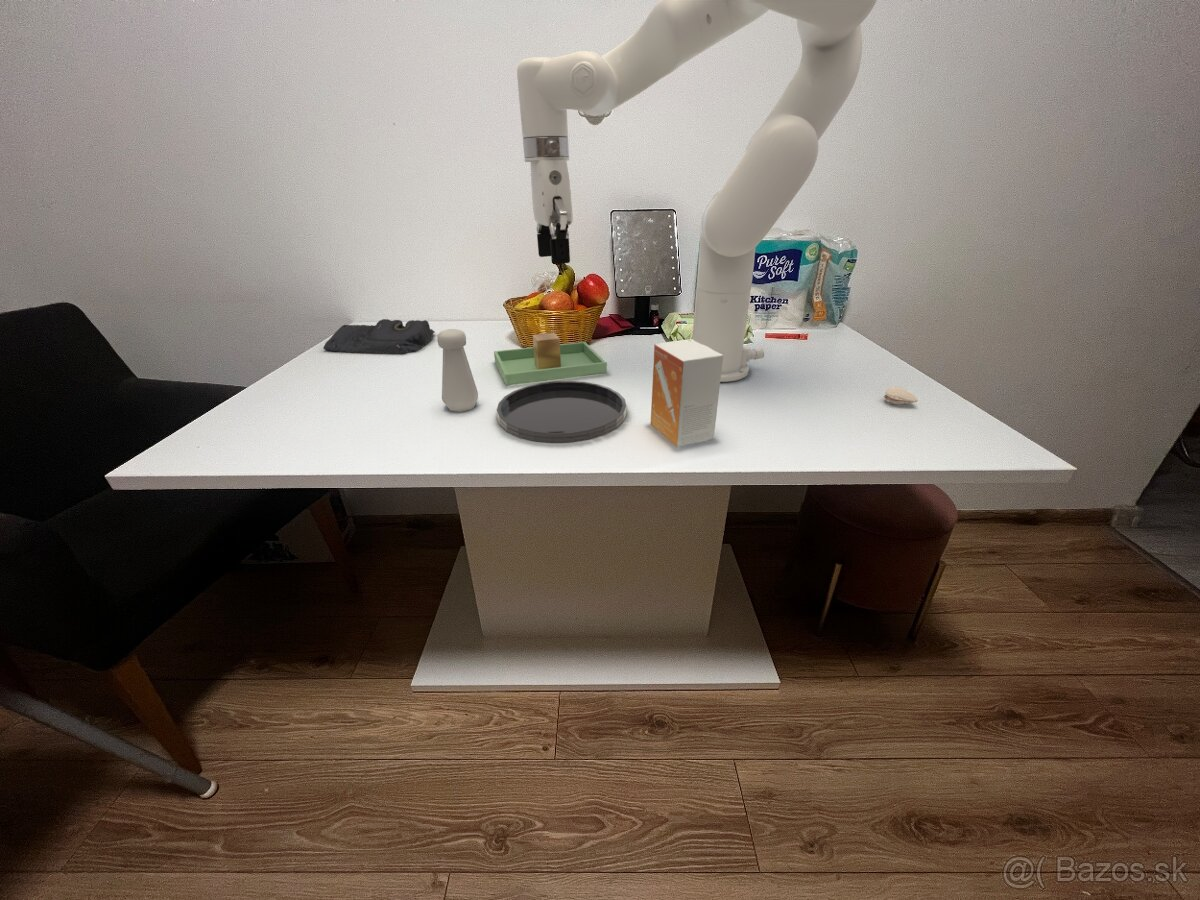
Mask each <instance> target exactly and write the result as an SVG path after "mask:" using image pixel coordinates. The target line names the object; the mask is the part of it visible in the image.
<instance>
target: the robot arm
mask: <svg viewBox="0 0 1200 900" xmlns="http://www.w3.org/2000/svg"><path fill="white" fill-rule="evenodd" d="M876 3H877V0H658V1H657V2H656V3H655V4H654V6H653V8H652V9H651V10H650V12H649V14H648V15H647V16H646V18H645V19H644V21H643V23H642V24H641V25H640V26H639V27H638V28H637V29H636V30H635V31H634V32H633V33H632V34H631V35H630V36H629V37H627V39H625V40H624V41H623V42H621V43H620V44H618V45H617V46H615V47H614V48H612V49H611V50H609V51H608V52H606V53H605V54H603V55H602V56H601V55H600V54H598V53H597V52H595V51H591V50H579V51H574V52H572V53H568V54H564V55H559V56H554V57H550V56H534V57H527V58H524V59H522V60H521V61H520V62H518V65H517V68H516V79H517V89H518V90H517V91H518V101H519V112H520V125H521V134H522V135H521V136H522V147H523V158H524V159H523V160H524V162H525V163H530V184H531V185H530V186H531V199H532V201H531V202H532V211H533V217H534V221H535V222H536V233H537V234H536V238H537V241H536V242H537V248H538V249H537V252H538V257H540V258H545V257H547V258H548V257H551V264H553V265H562V264H569V263H570V262H571V253H570V252H571V251H570V232H569V230H568V229H569V226H570V225H572V224H573V222H574V215H573V213H574V212H573V201H572V191H571V181H570V175H569V167H568V162H567V161H570V145H569V127H568V126H569V125H568V110H573V111H578V112H581V113H585V114H586V115H589V116H593V117H598V116H603V115H605V114H607V113H609V112H611V111H613V110H615V109H616V108H618V107H620V106H621V105H623V104H624V103H626V102H628V101H630V100H631V99H633V98H634V97H636V96H639V95H640V94H641V93H642V92H645V90H648V88H650V87H652V86H653V85H654V84H655V83H657V82H659V81H660V80H662V79H663V78H665V77H666V76H669V75H670V74H672V73H673V72H675V71H676V70H678V69H679V68H680V67H681V66H682V65H684V64H686V63H687V62H689V61H690V60H692V59H693V58H695V57H696V56H699V55H700V54H701V53H703V52H705V51H707V49H709V48H711V47H713V46H714V45H716V44H718V43H719V42H721V41H723V40H724V39H726V38H728V37H730V36H731V35H734V33H736V32H738V31H740V30H741V29H743V28H745V27H747V26H748V25H749V24H752V23H753V22H754V21H756V20H758V19H759V18H761V17H762V16H763V15H765V14H766V13H767V12H768V11H772V12H775V13H777V14H781V15H783V16H785V17H789V18H792V19H795V20H796V28H797V31H798V35H799V38H800V42H801V47H802V48H801V58H800V62H799V65H798V67H797V69H796V71H795V73H794V75H793V76H792V78H791V79H790V81H789V83H788V84H787V86H786V87H785V90H783V93H782V95H781V96H780V98H779V99H778V100H777V102H776V103H775V105H774V106H773V108H772V110H771V111H770V113H769V114H768V116H767V117H766V118H765V120H764V121H763V123H762V124H761V125H760V127H759V128H758V129H757V130H756V131H755V132H754V133H753V135H752V136H751V137H750V139H749V141H748V143H747V145H746V148H745V151H744V154H743V156H742V157H741V159H740V160H739V162H738V163H737V165H736V166H735V168H734V169H733V171H732V172H731V174H730V176H729V177H728V179H727V180H726V182H725V183H724V185H723V186H722V188H721V189H720V190H718V191H717V192H715V193H714V194H713V195H712V196H710V198H709V199H708V201H707V202H706V204H705V206H704V207H703V210H702V214H701V219H700V229H699V248H698V249H699V250H698V251H699V252H698V264H697V265H698V266H697V279H696V280H697V281H696V289H695V302H694V313H693V314H694V315H693V324H692V338H691V339H692V340H694V341H696V342H698V343H700V344H702V345H705V346H707V347H709V348H711V349H712V350H714V351H716V352H718V353H720V354H722V355H723V361H722V370H721V379H720V383H727V382H735V381H739V380H742V379H745V378H746V377H747V376H748V374H749V369H750V367H749V365H748V364H747V363H749V362H750V361H751V360H761V359H764V357H765V350H764V348H756V349H751V346H745V347H744V344H745V337H746V328H747V321H748V314H749V304H750V297H751V290H752V284H753V279H754V277H753V276H754V267H755V256H756V248H757V246H758V245H759V244H760V243H761V242H762V241H763V239H764V238H765V237H766V235H768V233H769V232H770V231H771V229H772V228H773V226H774V225H775V224H776V222H777V221H778V219H780V217H781V216H782V214H783V213H784V212H785V211H786V209H787V208H788V206H789V205H790V204H791V202H792V201H793V199H794V198H795V197H796V196H797V194H798V193H799V191H800V190H801V188H803V186H804V185H805V183H806V181H807V180H808V178H809V176H810V175H811V173H812V171H813V169H814V167H815V166H816V162H817V158H818V155H819V141H820V139H821V138H822V136H823V135H824V133H826V131H827V129H828V127H830V125H831V123H832V121H833V120H834V119H835V117H836V116H837V114H838V112H839V111H840V109H841V108H842V107H843V105H844V104H845V101H846V100H847V99H848V97H849V95H850V94H851V91H852V89H853V88H854V85H855V84H856V80H857V77H858V75H859V71H860V67H861V63H862V62H861V60H862V54H863V34H862V33H863V31H862V25H861V24H862V23H863V22H864V21H865V20H866V19H867V18H868V16H869V15H870V13H871V12H872V11H873V8H874V7H875V5H876Z"/></svg>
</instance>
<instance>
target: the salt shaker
mask: <svg viewBox="0 0 1200 900" xmlns="http://www.w3.org/2000/svg"><path fill="white" fill-rule="evenodd" d="M436 337H437V339H436V341H437V345H438V347H439V348H441V349H442V367H441V368H442V369H441V370H442V371H441V372H442V373H441V400H442V402H443V404H444V405H445V406H446V407H447V408H448V410H449V411H450V412H456V413H457V412H458V413H464V412H467V411H470V410H474V408H475V406H476V404H477V402H478V400H479V391H478V388H477V385H476V382H475V379H474V375H473V372H472V369H471V365H470V362H469V360H468V357H467V354H466V351H465V348H464V347H465V346H466V345H467V336H466V332H465V331H463V330H461V329H458V328H449V329H443V330H441V331H440V332H438V334H437V335H436Z"/></svg>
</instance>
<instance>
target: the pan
mask: <svg viewBox="0 0 1200 900" xmlns="http://www.w3.org/2000/svg"><path fill="white" fill-rule="evenodd" d="M496 416H497V417H496V418H497V420H498V423H499V426H500V427H501V428H502V429H503V430H504V431H506V432H507V433H509V434H511V435H512V436H515V437H517V438H519V439H523V440H527V441H531V442H539V443H546V444H547V443H550V444H565V443H576V442H577V443H578V442H582V441H587V440H591V439H592V440H593V439H595V438H599V437H602V436H604V435H607V434H609V433H611V432H613V431H614V430H616V429H618V428H619V427H620V426H621V425H622V424H623V423H624V421H625V419H626V416H627V403H626V399H625V398H624V397H623V396H622V395H621V393H620V392H618V391H617V390H614V389H612V388H610V387H608V386H605V385H601V384H598V383H594V382H589V381H580V380H579V381H578V380H577V381H576V380H555V381H553V380H552V381H547V382H546V381H544V382H540V383H534V384H531V385H526V386H524V387H521V388H518V389H516V390H513V391H511V392H510V393H508V394H507V395H505V396H503V398H502V399H501V400H500V401H499V402H498V404H497V407H496Z"/></svg>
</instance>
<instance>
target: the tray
mask: <svg viewBox="0 0 1200 900" xmlns="http://www.w3.org/2000/svg"><path fill="white" fill-rule="evenodd" d="M493 356H494V363H495V366H496V369H497V370H498V372H499V374H500V376H501V377H502V380H503V382H504V384H505V386H514V385H521V384H528V383H529V384H530V383H537V382H546V381H553V380H561V379H570V378H577V377H585V376H595V375H601V374H607V370H608V369H607V368H608V367H607V365H608V364H607V361H605V359H603V358H602V356H601V355H599V353H598V352H596V351H595V350H594V349H593V348H592V347H591V346H590V345H589V344H588V343H587V342H586V341H579V342H569V343H560V356H561V367H558V368H549V369H541V370H538V369H537V367H536V366H535V361H534V347H533V346H530V347H522V348H513V349H503V350H493Z"/></svg>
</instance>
